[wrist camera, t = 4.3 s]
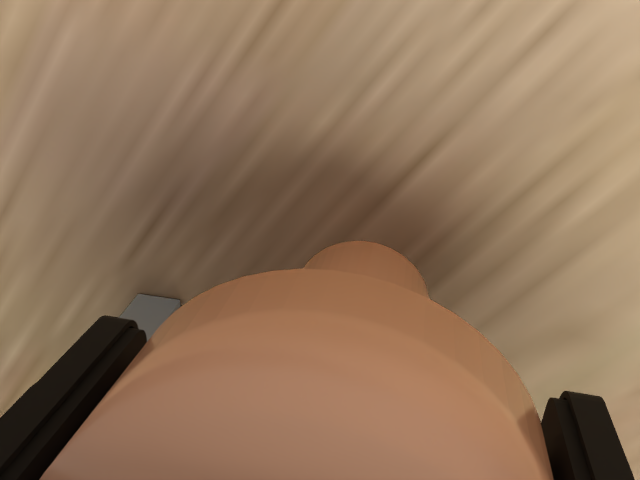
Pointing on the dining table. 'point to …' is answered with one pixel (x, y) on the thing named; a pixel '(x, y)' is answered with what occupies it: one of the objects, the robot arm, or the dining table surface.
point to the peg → (314, 386)
